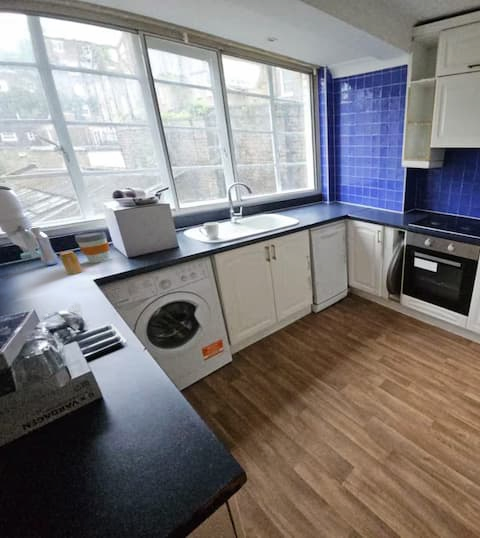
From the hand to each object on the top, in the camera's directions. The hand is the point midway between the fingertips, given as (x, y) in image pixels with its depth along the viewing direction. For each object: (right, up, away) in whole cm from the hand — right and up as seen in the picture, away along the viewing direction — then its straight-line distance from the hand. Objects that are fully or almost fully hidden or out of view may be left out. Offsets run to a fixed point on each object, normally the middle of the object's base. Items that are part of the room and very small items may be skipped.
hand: (31, 255), depth 129 cm
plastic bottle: (-21, -3, +29) cm, 36 cm away
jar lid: (0, +1, 0) cm, 1 cm away
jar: (+2, -7, +18) cm, 19 cm away
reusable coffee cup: (+1, -1, +33) cm, 33 cm away
